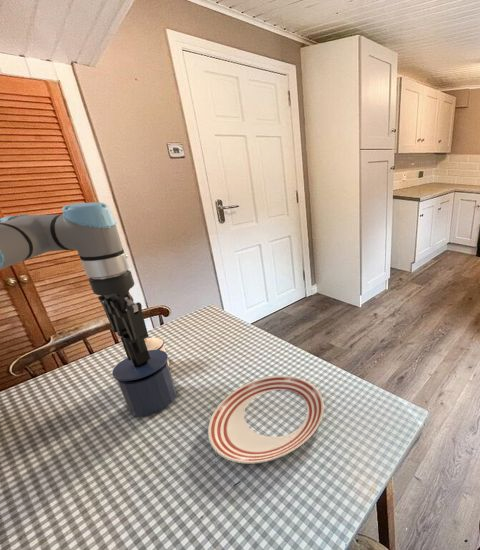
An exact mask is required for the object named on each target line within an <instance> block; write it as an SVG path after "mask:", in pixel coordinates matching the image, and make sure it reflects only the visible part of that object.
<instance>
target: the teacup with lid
mask: <svg viewBox="0 0 480 550" xmlns="http://www.w3.org/2000/svg"><path fill="white" fill-rule="evenodd" d="M144 341H145V344H146V347H147V350H162V351H164V352H166V353H167V351H166V349H165V348H166V347H165V342H164V340H163V339H161V338H160V337H148V338H146V339H144ZM167 362H168V366H169V367H170V361H169V359H168V360H167Z"/></svg>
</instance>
